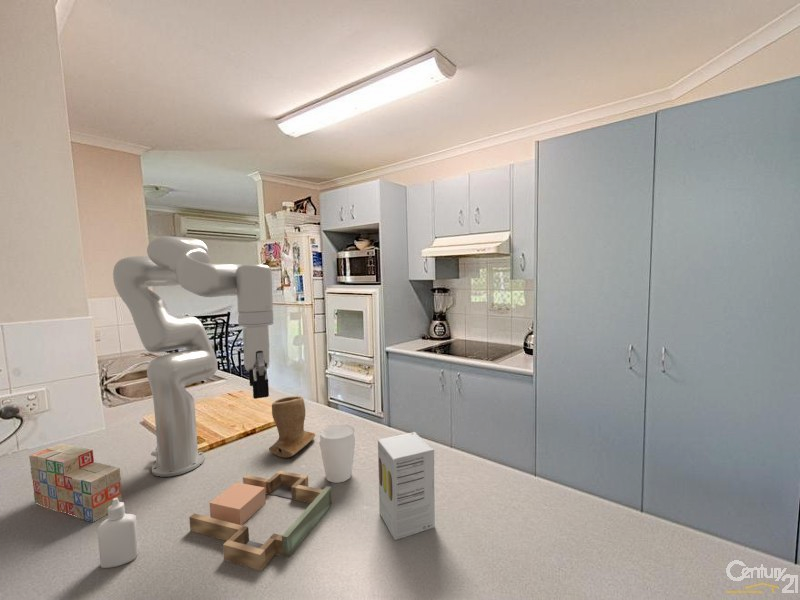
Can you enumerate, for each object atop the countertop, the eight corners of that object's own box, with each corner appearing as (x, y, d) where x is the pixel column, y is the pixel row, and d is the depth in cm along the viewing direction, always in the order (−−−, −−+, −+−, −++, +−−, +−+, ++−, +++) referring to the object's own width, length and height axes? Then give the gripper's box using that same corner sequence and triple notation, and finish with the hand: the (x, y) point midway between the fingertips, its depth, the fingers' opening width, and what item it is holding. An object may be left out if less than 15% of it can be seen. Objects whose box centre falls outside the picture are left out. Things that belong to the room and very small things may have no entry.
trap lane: (172, 544, 71) (171, 525, 71) (258, 477, 94) (257, 462, 94) (274, 574, 64) (273, 553, 63) (340, 493, 87) (339, 477, 86)
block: (210, 520, 79) (209, 502, 78) (237, 498, 86) (236, 482, 86) (240, 527, 76) (239, 509, 76) (265, 504, 84) (264, 487, 83)
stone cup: (288, 434, 120) (286, 390, 119) (320, 438, 116) (318, 392, 115) (257, 456, 105) (255, 406, 104) (293, 462, 102) (290, 410, 101)
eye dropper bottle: (117, 550, 70) (112, 491, 69) (143, 551, 69) (138, 492, 69) (96, 568, 66) (90, 505, 65) (124, 570, 65) (118, 507, 64)
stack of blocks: (123, 506, 84) (119, 455, 83) (93, 523, 78) (88, 469, 77) (65, 489, 91) (61, 442, 90) (33, 504, 85) (28, 454, 84)
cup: (349, 487, 89) (347, 440, 88) (315, 484, 91) (313, 437, 90) (360, 468, 98) (359, 425, 97) (329, 465, 100) (327, 423, 99)
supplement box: (378, 512, 79) (376, 438, 78) (416, 501, 83) (414, 430, 82) (394, 542, 71) (392, 459, 69) (436, 527, 74) (435, 448, 73)
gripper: (236, 315, 89) (239, 383, 90) (240, 324, 74) (243, 406, 75) (268, 313, 92) (270, 378, 94) (278, 321, 77) (281, 400, 78)
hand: (258, 390), depth 84 cm, fingers open, 9 cm apart
